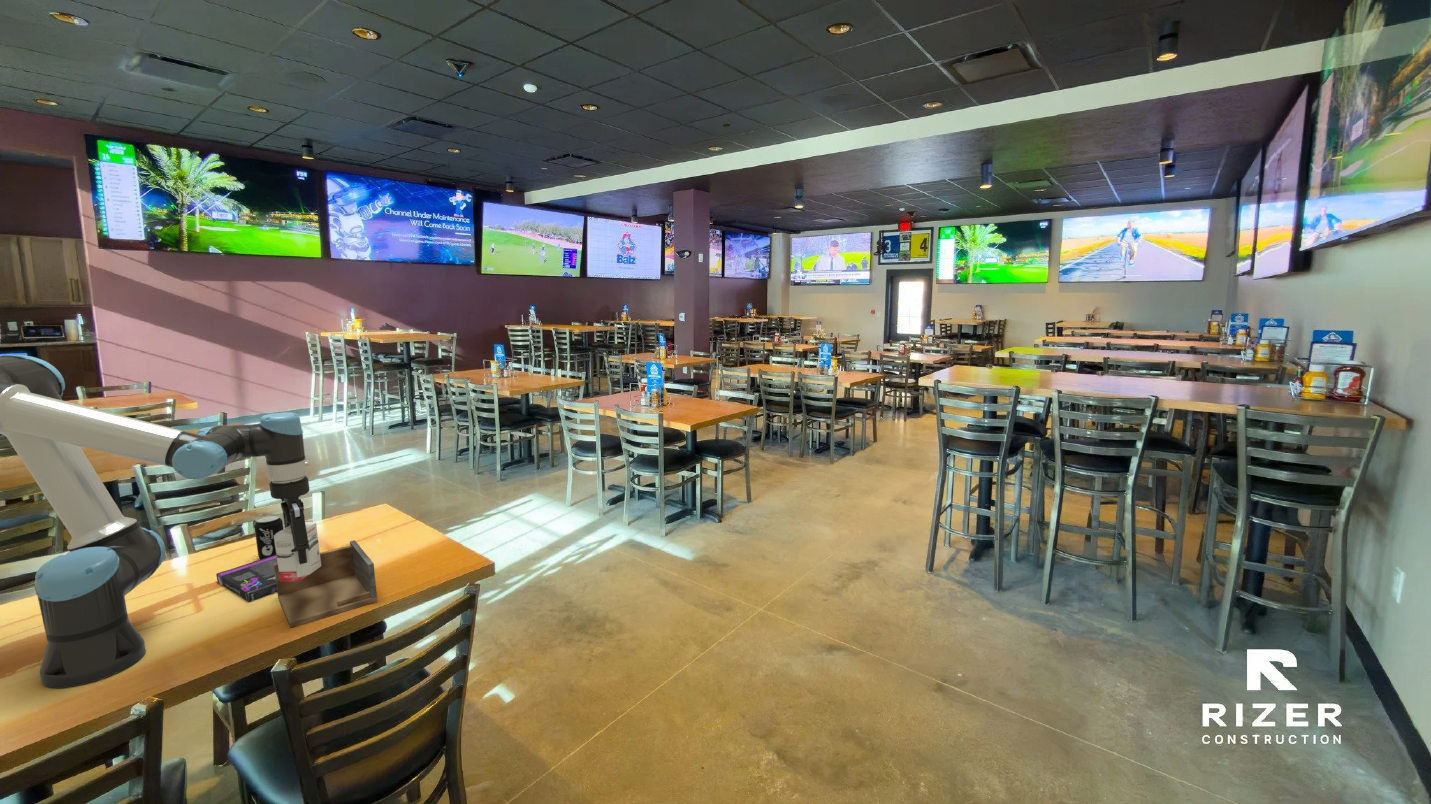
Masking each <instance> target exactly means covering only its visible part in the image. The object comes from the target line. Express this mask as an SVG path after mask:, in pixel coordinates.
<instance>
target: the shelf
mask: <svg viewBox="0 0 1431 804" xmlns="http://www.w3.org/2000/svg"><path fill="white" fill-rule="evenodd" d="M320 559H321V567H319V568H318V569H317V570H315V571H314V572H312V573H311V574H309V575H308V576H307V577H305V578H304V579H303V580H301V581H296V582H280V576H279V569H278V563H275V564H274V569H275V577H276V585H277V593H276V594H277V599H278V601H279V603H280V606H281V608H282V610H283V612H284V615H285V618H286V620H287V622H288V625H289V627H290V628H295V627H299V626H301V625H304V624H307V623H312V622H314V621H318V620H321V619H325V618H327V617H331V616H334V615H339V614H340V613H344V612H347V611H348V612H349V611H350V610H351V611H352V610H354V609H357V608H360V607H366V606H368V605H371V604H375V603H377V602H378V593H377V584H376V582H377V581H376V574H375V573H376V572H375V565H374V562H373V560H371V558H370V557H369V555H367V553H366V552H365V551H364V549H363V548H362V547H361V546H360V544H359V543H358V541H356V540H349V545H347V546H343V547H339V548H335V549H331V550H326V551H322V552H321V551H320Z"/></svg>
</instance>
